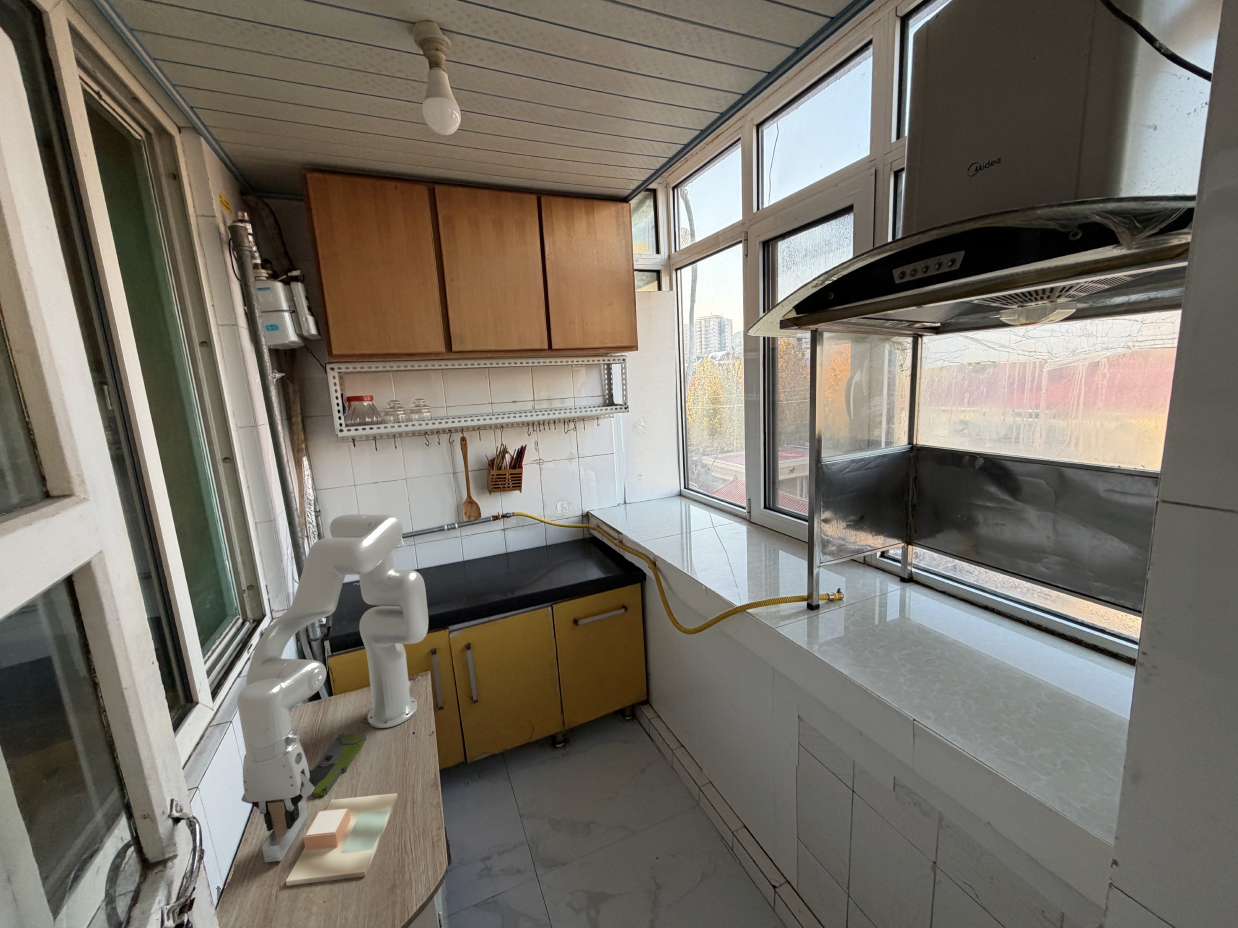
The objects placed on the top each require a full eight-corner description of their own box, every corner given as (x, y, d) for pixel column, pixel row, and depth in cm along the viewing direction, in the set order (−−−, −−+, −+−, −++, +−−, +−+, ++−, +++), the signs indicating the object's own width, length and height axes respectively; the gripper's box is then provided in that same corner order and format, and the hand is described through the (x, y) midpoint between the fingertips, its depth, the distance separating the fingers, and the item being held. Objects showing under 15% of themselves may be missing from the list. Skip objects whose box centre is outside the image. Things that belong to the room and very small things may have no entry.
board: (332, 803, 108) (331, 799, 108) (397, 796, 110) (397, 792, 110) (286, 885, 91) (285, 880, 90) (365, 875, 92) (364, 871, 92)
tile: (320, 823, 102) (318, 810, 102) (350, 820, 103) (348, 807, 102) (305, 850, 96) (303, 836, 96) (337, 846, 97) (335, 832, 96)
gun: (312, 741, 129) (370, 740, 129) (262, 801, 110) (329, 800, 110) (311, 732, 128) (369, 731, 129) (260, 791, 109) (328, 790, 110)
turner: (293, 816, 104) (285, 776, 102) (307, 814, 105) (300, 774, 103) (265, 862, 95) (256, 819, 93) (281, 860, 95) (273, 817, 93)
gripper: (323, 725, 100) (334, 803, 103) (237, 733, 98) (251, 812, 101) (304, 753, 92) (317, 835, 96) (211, 762, 91) (227, 846, 94)
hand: (283, 822), depth 98 cm, fingers closed on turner, 3 cm apart
